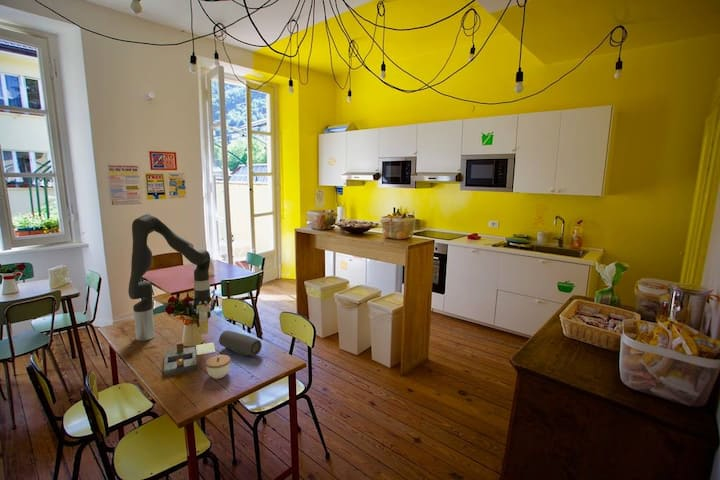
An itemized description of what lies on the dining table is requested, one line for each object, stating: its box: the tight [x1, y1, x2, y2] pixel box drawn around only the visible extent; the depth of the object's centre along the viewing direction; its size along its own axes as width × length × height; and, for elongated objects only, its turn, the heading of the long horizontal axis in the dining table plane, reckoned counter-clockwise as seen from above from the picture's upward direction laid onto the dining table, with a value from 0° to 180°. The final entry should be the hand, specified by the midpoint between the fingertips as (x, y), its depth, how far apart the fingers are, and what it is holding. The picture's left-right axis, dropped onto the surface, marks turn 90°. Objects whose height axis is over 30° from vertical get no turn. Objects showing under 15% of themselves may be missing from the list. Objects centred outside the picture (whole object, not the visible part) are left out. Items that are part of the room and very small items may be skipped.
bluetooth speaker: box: [218, 330, 263, 357], centre depth 187 cm, size 23×9×10 cm, turn 63°
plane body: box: [163, 341, 198, 377], centre depth 174 cm, size 20×14×7 cm
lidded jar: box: [205, 354, 231, 380], centre depth 164 cm, size 11×11×9 cm
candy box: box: [198, 304, 209, 335], centre depth 186 cm, size 9×4×15 cm, turn 26°
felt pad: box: [195, 342, 216, 357], centre depth 190 cm, size 12×9×1 cm
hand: (203, 318), depth 187 cm, fingers closed on candy box, 4 cm apart
